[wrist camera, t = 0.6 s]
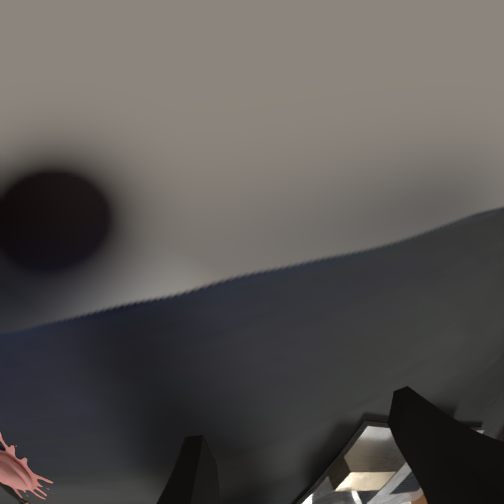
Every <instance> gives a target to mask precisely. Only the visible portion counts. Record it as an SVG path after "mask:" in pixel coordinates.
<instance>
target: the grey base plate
mask: <svg viewBox="0 0 504 504" xmlns="http://www.w3.org/2000/svg"><path fill="white" fill-rule="evenodd" d="M470 428H471V429H473V430H475V431H477V432H479V433H483V432H484V429H483V428H482V427H470ZM395 446H396V443H395V440H394V438H393V436H392V433H391V431H390V428H389V426H388V423H380V422H371V421H364V422H363V423H362V424H361V426H360V427H359V429H358V430H357V431H356V433H355V434H354V435H353V437H352V438H351V439H350V441H349V442H348V443H347V445H346V446H345V447H344V449H343V450H342V451H341V452H340V454H339V455H338V456H337V457H336V459H335V460H334V461H333V462H332V464H331V465H330V466H329V467H328V468H327V470H326V471H325V472H324V473H323V474H322V475H321V477H320V478H319V479H318V480H317V481H316V482H315V483H314V485H313V486H312V487H311V488H310V489H309V490H308V491H307V492H306V493H305V494H304V496H303V497H302V498H301V499H300V500H299V501H298V502H297V503H296V504H362V502H361V500H360V498H359V496H358V494H357V492H356V491H334V490H333V487H332V485H331V482H330V480H329V477H328V475H327V472H328V471H329V470H330V469H331V468H332V467H333V465H334V464H335V463H336V462H337V460H338V459H339V458H340V457H341V456H342V454H346V455H364V456H388V454H389V453H390V452H391V451H392V449H393V448H394V447H395ZM412 473H413V472H412V471H411V472H410V473H409V474H408V475H407V476H406V478H407V477H409V476H410V475H411V474H412ZM395 504H411V503H410V501H409V502H402V503H395Z"/></svg>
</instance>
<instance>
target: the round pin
mask: <svg viewBox="0 0 504 504" xmlns="http://www.w3.org/2000/svg"><path fill="white" fill-rule="evenodd" d="M410 503H411V504H428V503H427V501H426V498H425V496H424V494H423V495H422V496H421V497H420V498H419V499H418V500H415V501H410Z"/></svg>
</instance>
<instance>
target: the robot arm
mask: <svg viewBox="0 0 504 504" xmlns="http://www.w3.org/2000/svg"><path fill="white" fill-rule="evenodd" d="M388 426H389V428H390V431H391V433H392V436H393V438H394V440H395V443H396V445H397V447H398V448H399V450H400V452H401V454H402V455H403V457H404V459H405V460H406V462H407V464H408V466H409V467H410V469H411V471H412V472H413V474H414V476H415V478H416V479H417V481H418V483H419V485H420V487H421V489H422V491H423V493H424V496H425V498H426V501H427V503H428V504H504V442H502V441H499V440H496V439H493V438H491V437H488V436H486V435H484V434H482V433H479V432H477V431H475V430H473V429H471V428H470V427H468V426H466V425H464V424H462V423H461V422H459V421H457V420H456V419H454V418H452V417H451V416H449V415H448V414H446V413H445V412H443V411H442V410H440V409H439V408H437V407H436V406H434V405H433V404H432V403H430V402H429V401H427V400H426V399H425V398H423V397H422V396H420V395H419V394H418V393H416V392H415V391H414V390H412V389H411V388H409V387H408V386H407V387H404V388H402V389H399V390H396V391H394V394H393V399H392V404H391V410H390V415H389V419H388ZM157 504H219V483H218V474H217V465H216V462H215V460H214V458H213V456H212V454H211V452H210V450H209V447H208V445H207V443H206V441H205V439H204V437H203V435H201V436H190V437H186V438H185V439H184V442H183V445H182V448H181V451H180V454H179V457H178V459H177V462H176V464H175V467H174V469H173V471H172V474H171V476H170V478H169V480H168V482H167V485H166V487H165V489H164V491H163V493H162V494H161V496H160V498H159V500H158V502H157Z"/></svg>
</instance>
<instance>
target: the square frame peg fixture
mask: <svg viewBox="0 0 504 504" xmlns="http://www.w3.org/2000/svg"><path fill="white" fill-rule="evenodd" d="M410 472H411V469H410V467H409V466H408V464H407V462H406V460H405V459H404V457H403V455H402V454H401V452H400V450H399V448H398V447H397V445H396V446H395V447H394V448H393V449H392V451H391V452H390V453H389V454H388V456H364V455H346V454H342V456H341V457H340V458H339V459H338V460H337V462H336V463H335V464H334V465H333V467H332V468H331V469H330V470H329V471H328V472H327V475H328V477H329V480H330V482H331V485H332V487H333V490H334V491H356V492H357V494H358V496H359V498H360V500H361V502H362V504H395V503H402V502H409V501H415V500H418V499H419V498H420V497H421V496H422V495H423V494H424V493H423V491H422V489H421V487H420V485H419V483H418V481H417V479H416V478H415V476H414V474H413V473H412V474H411V475H410V476H409V477H407V478H406V476H407V475H408V474H409V473H410Z"/></svg>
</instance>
